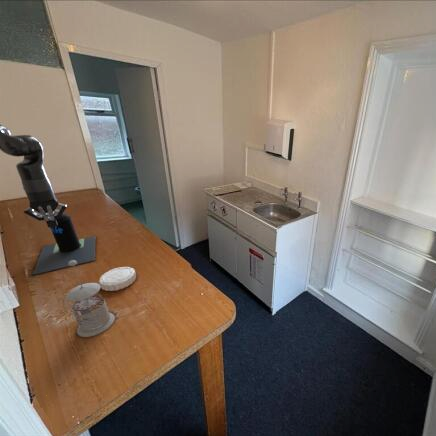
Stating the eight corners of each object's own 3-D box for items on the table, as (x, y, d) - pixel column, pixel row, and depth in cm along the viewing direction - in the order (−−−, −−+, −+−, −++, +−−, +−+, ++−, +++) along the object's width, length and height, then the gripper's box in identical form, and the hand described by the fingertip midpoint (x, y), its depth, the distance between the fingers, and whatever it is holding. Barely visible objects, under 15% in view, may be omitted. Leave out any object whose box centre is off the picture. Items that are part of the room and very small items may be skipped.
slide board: (32, 275, 95) (32, 274, 95) (43, 246, 113) (43, 246, 113) (94, 260, 106) (94, 260, 106) (95, 236, 125) (95, 236, 125)
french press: (102, 336, 72) (77, 271, 62) (62, 337, 71) (29, 271, 61) (121, 312, 81) (101, 251, 71) (85, 312, 80) (60, 251, 70)
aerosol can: (75, 242, 118) (62, 205, 110) (85, 246, 115) (71, 209, 107) (55, 249, 111) (39, 211, 103) (64, 254, 108) (48, 215, 100)
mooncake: (110, 295, 88) (108, 288, 86) (94, 284, 93) (92, 276, 91) (142, 278, 97) (140, 271, 96) (126, 268, 102) (124, 262, 101)
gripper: (62, 184, 98) (75, 221, 105) (16, 188, 90) (33, 227, 97) (60, 189, 92) (73, 227, 100) (11, 193, 85) (29, 235, 92)
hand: (53, 227), depth 98 cm, fingers closed
